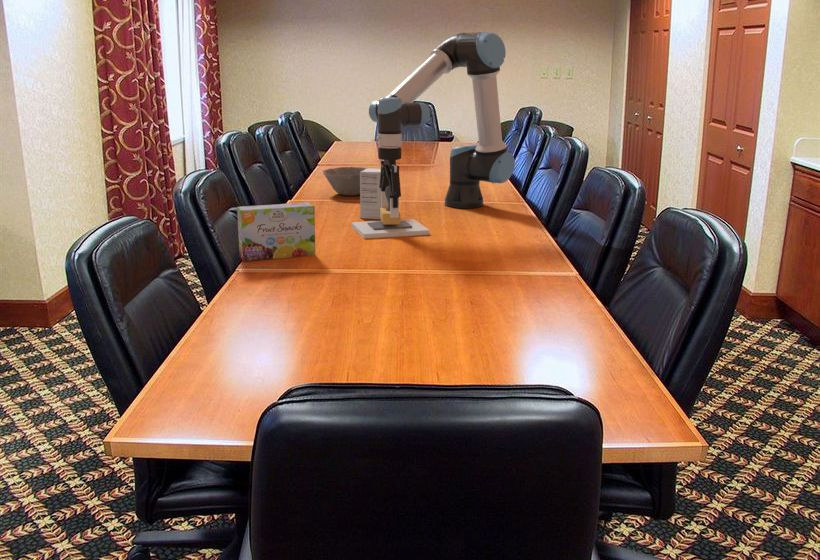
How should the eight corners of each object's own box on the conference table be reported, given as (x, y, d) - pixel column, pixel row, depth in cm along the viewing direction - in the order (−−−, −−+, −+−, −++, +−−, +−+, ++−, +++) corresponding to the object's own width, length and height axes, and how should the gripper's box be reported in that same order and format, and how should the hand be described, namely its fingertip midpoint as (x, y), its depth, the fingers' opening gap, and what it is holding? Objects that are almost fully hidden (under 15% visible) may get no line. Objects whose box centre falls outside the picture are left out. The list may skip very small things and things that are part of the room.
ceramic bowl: (388, 193, 318) (388, 169, 315) (355, 201, 299) (355, 176, 296) (346, 188, 329) (345, 165, 326) (312, 195, 310) (311, 171, 308)
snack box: (243, 262, 211) (240, 209, 206) (239, 257, 216) (236, 206, 211) (316, 255, 219) (314, 204, 214) (310, 251, 224) (309, 201, 219)
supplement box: (384, 220, 266) (384, 172, 261) (359, 218, 268) (359, 171, 263) (391, 214, 275) (391, 168, 270) (366, 213, 277) (366, 167, 272)
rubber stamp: (400, 224, 245) (400, 187, 242) (382, 224, 244) (382, 188, 241) (397, 217, 254) (397, 182, 251) (380, 218, 254) (379, 182, 250)
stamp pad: (413, 223, 262) (413, 217, 261) (429, 234, 245) (429, 228, 244) (351, 226, 255) (351, 220, 255) (363, 238, 239) (363, 232, 238)
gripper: (369, 143, 252) (370, 207, 258) (387, 151, 231) (388, 221, 237) (391, 142, 254) (391, 206, 260) (411, 150, 233) (410, 220, 239)
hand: (389, 214), depth 249 cm, fingers closed on rubber stamp, 10 cm apart
